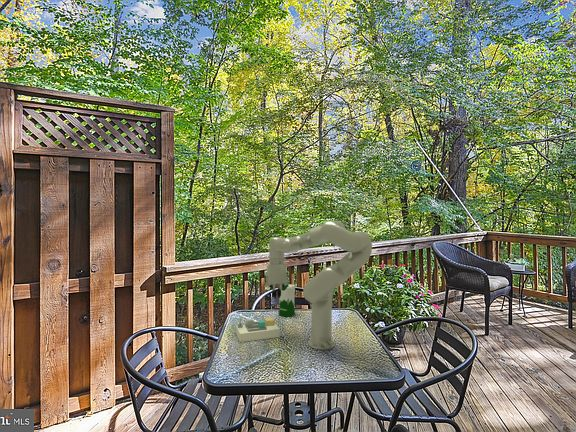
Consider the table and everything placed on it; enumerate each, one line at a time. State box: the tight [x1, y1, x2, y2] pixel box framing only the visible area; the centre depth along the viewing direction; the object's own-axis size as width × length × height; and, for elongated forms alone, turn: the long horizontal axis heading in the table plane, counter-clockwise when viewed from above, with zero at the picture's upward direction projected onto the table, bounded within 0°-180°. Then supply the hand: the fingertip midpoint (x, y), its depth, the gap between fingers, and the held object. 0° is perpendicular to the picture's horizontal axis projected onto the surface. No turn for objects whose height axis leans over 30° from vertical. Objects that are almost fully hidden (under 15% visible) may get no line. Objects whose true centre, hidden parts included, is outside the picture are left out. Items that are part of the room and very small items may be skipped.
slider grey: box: [245, 318, 254, 326], centre depth 167 cm, size 3×3×4 cm
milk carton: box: [278, 283, 296, 318], centre depth 197 cm, size 9×9×20 cm
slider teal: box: [257, 319, 265, 328], centre depth 164 cm, size 3×3×4 cm
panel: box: [235, 316, 281, 343], centre depth 165 cm, size 12×20×10 cm, turn 108°
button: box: [263, 317, 276, 326], centre depth 170 cm, size 4×4×5 cm
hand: (276, 297), depth 166 cm, fingers closed
